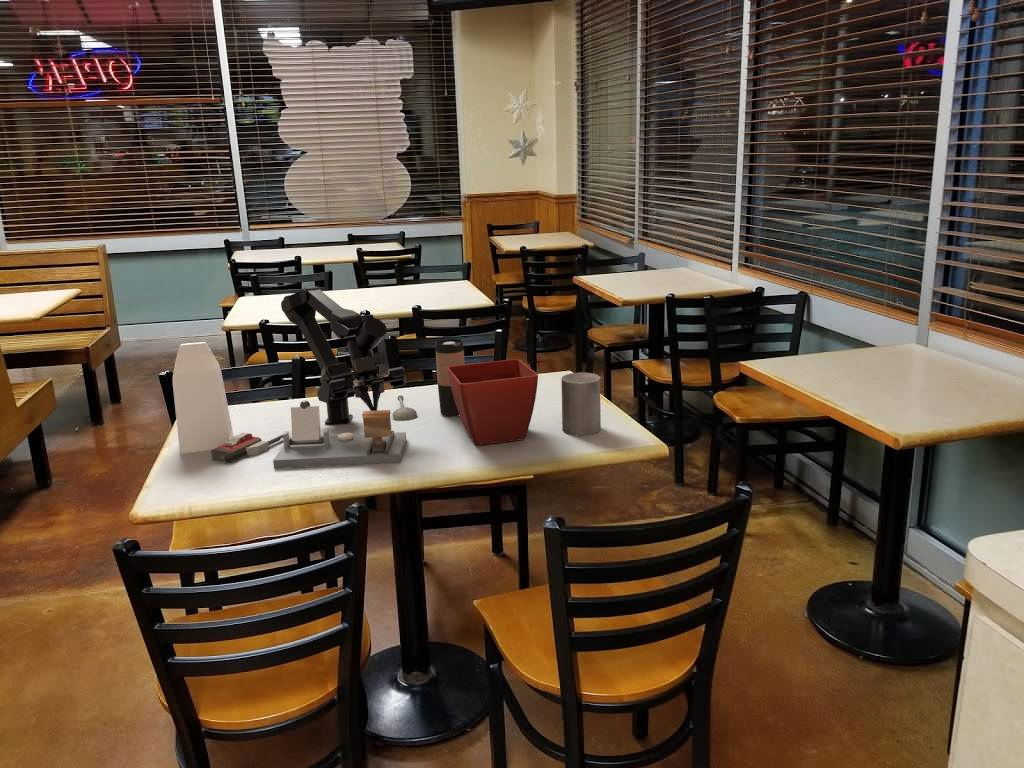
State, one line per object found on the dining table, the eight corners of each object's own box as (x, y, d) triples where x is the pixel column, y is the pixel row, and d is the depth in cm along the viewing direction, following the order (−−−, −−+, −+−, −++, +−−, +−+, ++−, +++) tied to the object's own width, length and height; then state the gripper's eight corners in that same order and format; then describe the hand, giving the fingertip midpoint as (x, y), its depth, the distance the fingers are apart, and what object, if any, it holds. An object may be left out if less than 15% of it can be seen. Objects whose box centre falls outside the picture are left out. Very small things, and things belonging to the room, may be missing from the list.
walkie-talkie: (235, 467, 195) (290, 440, 213) (232, 449, 194) (288, 423, 212) (206, 462, 199) (263, 437, 217) (204, 445, 198) (261, 420, 215)
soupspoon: (393, 426, 223) (417, 424, 224) (392, 414, 222) (417, 413, 224) (389, 401, 244) (412, 400, 245) (389, 390, 243) (411, 389, 244)
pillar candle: (560, 425, 215) (558, 368, 210) (597, 422, 215) (596, 366, 211) (565, 437, 205) (563, 378, 201) (604, 434, 206) (603, 376, 202)
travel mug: (442, 408, 233) (437, 338, 228) (469, 408, 232) (465, 338, 227) (437, 417, 225) (432, 344, 220) (465, 416, 225) (461, 344, 219)
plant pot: (450, 428, 215) (446, 365, 211) (521, 420, 220) (519, 358, 215) (464, 452, 198) (460, 383, 193) (541, 442, 202) (539, 375, 197)
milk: (180, 453, 205) (164, 350, 199) (184, 439, 216) (169, 341, 209) (231, 447, 208) (217, 345, 202) (233, 433, 219) (220, 336, 212)
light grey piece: (291, 445, 201) (289, 401, 201) (324, 443, 202) (322, 399, 202) (288, 445, 199) (286, 401, 199) (322, 444, 199) (320, 399, 199)
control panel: (289, 445, 208) (287, 424, 206) (406, 439, 208) (404, 418, 207) (274, 468, 192) (271, 445, 191) (400, 462, 193) (398, 439, 191)
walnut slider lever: (367, 446, 198) (364, 410, 195) (393, 445, 198) (390, 408, 195) (365, 452, 194) (361, 415, 191) (391, 450, 194) (388, 413, 191)
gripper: (321, 350, 201) (333, 408, 194) (398, 335, 204) (412, 392, 198) (326, 371, 211) (337, 426, 204) (399, 356, 214) (412, 411, 208)
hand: (374, 413), depth 204 cm, fingers closed
